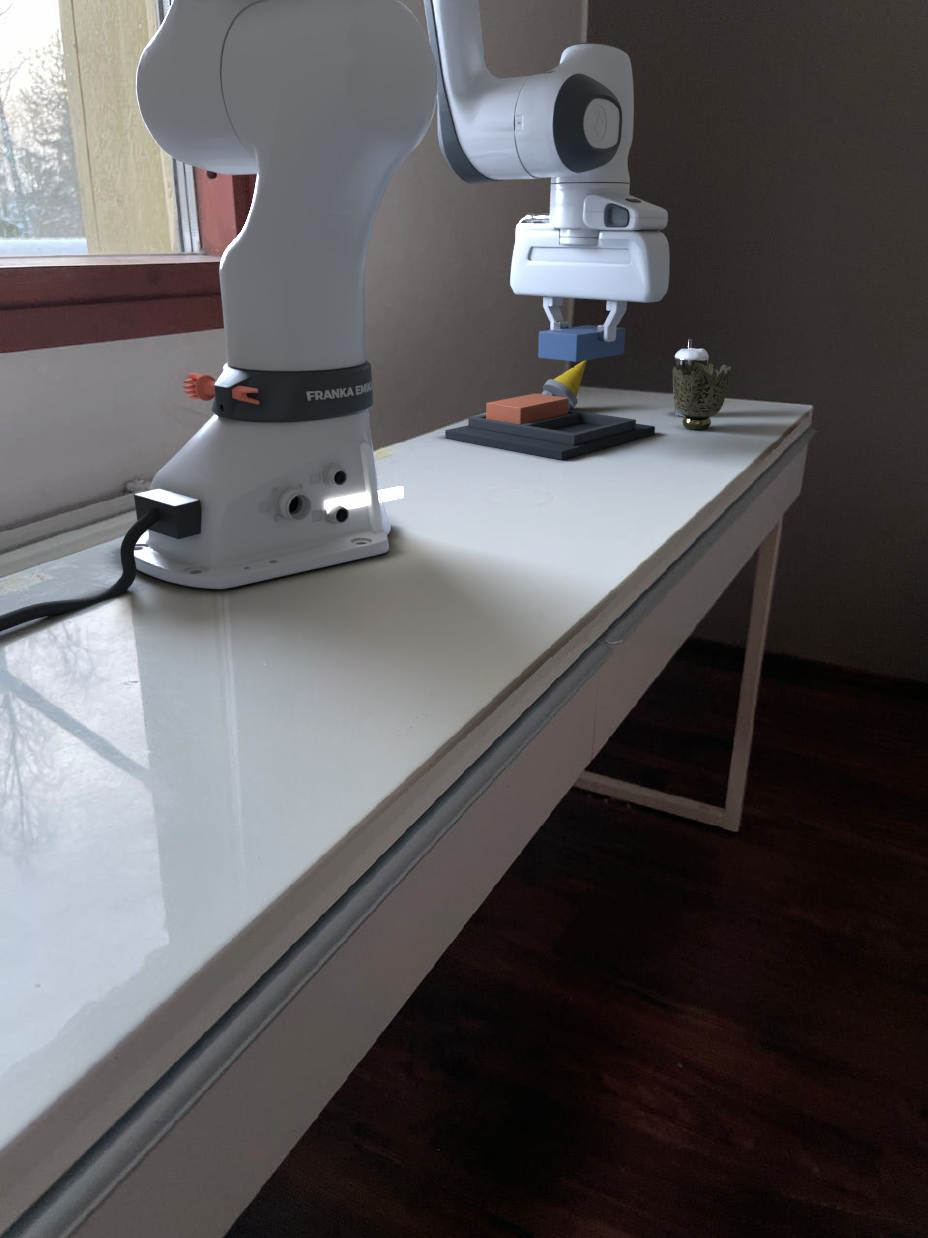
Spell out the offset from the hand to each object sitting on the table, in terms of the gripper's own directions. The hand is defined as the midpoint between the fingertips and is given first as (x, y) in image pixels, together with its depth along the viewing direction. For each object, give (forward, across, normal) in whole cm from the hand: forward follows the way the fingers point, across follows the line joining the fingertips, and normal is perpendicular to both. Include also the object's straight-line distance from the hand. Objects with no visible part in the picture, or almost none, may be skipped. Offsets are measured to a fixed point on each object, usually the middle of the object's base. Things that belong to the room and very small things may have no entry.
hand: (582, 338), depth 113 cm
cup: (+12, +7, +17) cm, 22 cm away
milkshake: (+12, +1, +25) cm, 28 cm away
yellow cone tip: (+12, -14, +16) cm, 25 cm away
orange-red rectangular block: (+11, -8, 0) cm, 14 cm away
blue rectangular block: (+2, 0, 0) cm, 2 cm away
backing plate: (+12, -4, 0) cm, 13 cm away
